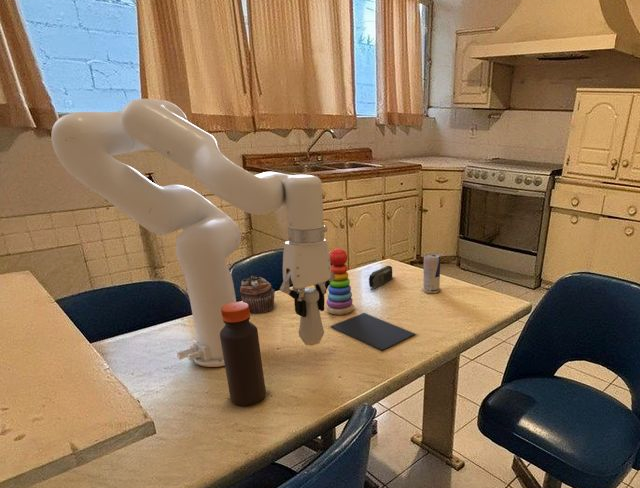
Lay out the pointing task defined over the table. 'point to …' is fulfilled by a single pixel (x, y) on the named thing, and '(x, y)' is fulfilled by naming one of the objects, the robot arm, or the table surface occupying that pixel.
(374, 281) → the mobile phone
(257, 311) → the cupcake
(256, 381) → the bottle
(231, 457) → the table surface
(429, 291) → the energy drink
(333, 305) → the stacking toy
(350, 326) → the mat
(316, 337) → the salt shaker
